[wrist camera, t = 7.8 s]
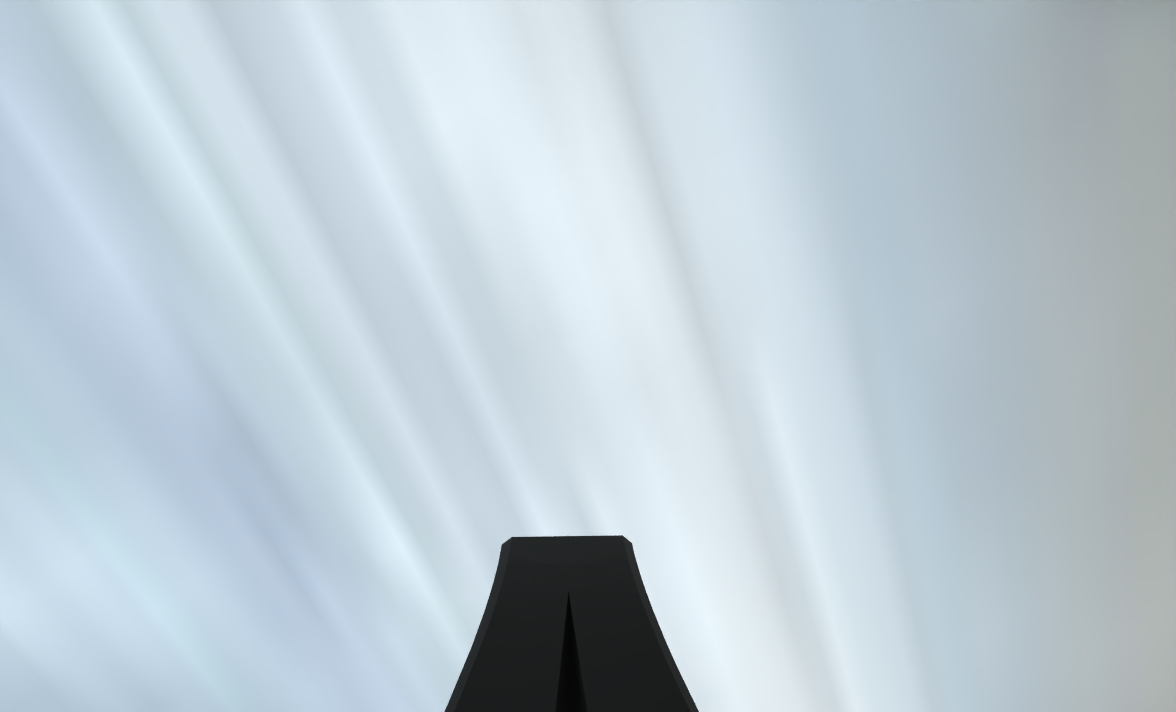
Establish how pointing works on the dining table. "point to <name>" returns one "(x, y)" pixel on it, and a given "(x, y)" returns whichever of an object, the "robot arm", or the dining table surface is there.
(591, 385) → the dining table surface
